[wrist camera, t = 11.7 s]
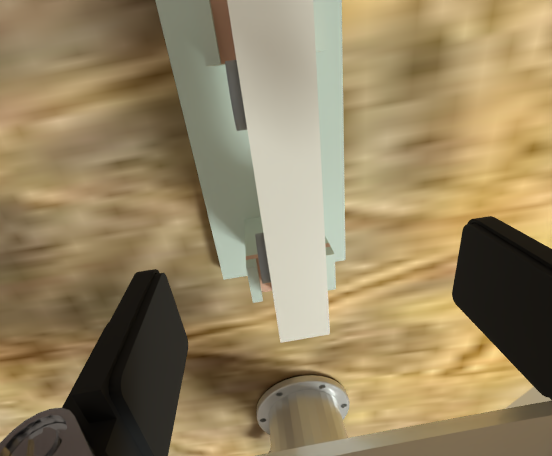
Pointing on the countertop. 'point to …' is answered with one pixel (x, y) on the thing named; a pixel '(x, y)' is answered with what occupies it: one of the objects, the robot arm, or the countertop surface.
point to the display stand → (235, 144)
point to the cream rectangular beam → (283, 154)
